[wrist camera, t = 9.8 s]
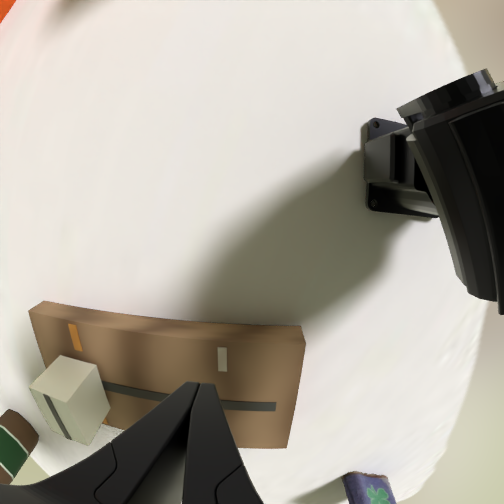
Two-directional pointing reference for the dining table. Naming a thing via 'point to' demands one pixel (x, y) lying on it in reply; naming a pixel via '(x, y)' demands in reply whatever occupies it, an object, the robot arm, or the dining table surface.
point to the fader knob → (71, 398)
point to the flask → (367, 488)
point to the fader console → (182, 365)
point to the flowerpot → (5, 7)
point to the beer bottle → (14, 444)
